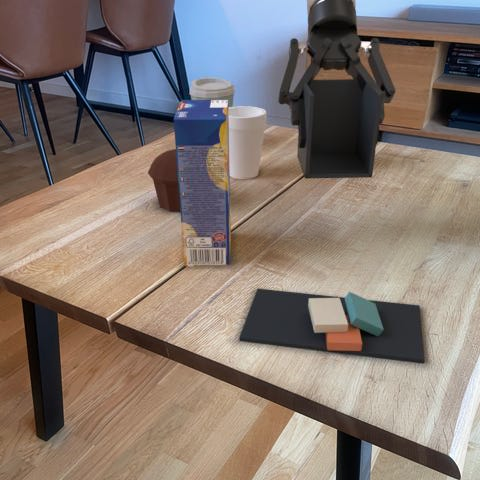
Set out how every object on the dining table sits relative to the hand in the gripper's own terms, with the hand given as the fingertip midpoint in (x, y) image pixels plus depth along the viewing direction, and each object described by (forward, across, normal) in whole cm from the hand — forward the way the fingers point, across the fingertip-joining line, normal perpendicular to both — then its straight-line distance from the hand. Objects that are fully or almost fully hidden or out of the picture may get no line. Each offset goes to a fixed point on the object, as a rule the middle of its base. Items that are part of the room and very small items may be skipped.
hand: (338, 143), depth 83 cm
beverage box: (+14, +20, -9) cm, 26 cm away
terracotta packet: (+30, +3, +10) cm, 32 cm away
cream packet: (+28, +5, +10) cm, 30 cm away
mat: (+29, +4, +6) cm, 30 cm away
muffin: (0, +26, -23) cm, 34 cm away
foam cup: (-11, +14, -34) cm, 38 cm away
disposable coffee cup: (-25, +20, -48) cm, 58 cm away
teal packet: (+27, 0, +9) cm, 29 cm away
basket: (+1, 0, -5) cm, 6 cm away
